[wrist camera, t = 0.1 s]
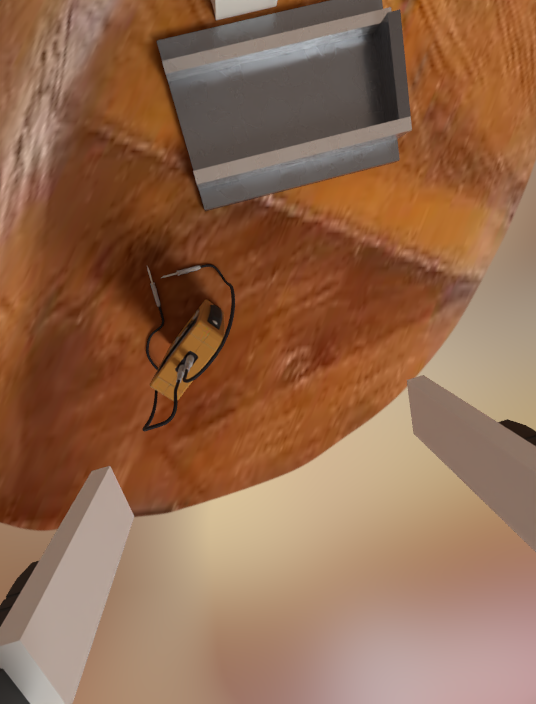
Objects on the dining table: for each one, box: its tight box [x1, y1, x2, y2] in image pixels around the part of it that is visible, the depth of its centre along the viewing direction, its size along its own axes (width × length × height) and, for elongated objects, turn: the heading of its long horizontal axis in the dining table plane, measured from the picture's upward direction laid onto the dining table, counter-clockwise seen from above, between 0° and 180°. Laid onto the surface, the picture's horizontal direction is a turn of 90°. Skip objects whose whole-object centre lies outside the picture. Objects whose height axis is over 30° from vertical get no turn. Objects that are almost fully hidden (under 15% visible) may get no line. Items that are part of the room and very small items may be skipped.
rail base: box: [157, 0, 412, 211], centre depth 33 cm, size 15×22×4 cm
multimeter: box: [143, 265, 235, 431], centre depth 30 cm, size 15×10×20 cm
